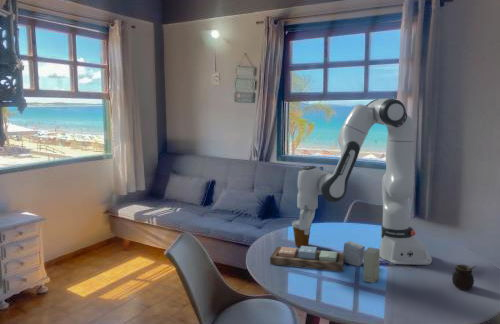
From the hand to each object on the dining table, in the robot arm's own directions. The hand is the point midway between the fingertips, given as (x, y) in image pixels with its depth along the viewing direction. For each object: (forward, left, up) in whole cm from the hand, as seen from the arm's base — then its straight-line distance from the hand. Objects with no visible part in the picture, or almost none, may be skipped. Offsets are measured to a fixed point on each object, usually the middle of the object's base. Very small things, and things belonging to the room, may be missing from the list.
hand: (306, 233), depth 169 cm
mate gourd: (-60, +9, -13) cm, 62 cm away
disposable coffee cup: (+6, -19, -13) cm, 24 cm away
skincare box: (-27, +11, -13) cm, 32 cm away
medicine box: (-19, -4, -13) cm, 24 cm away
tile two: (0, 0, -10) cm, 10 cm away
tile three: (+9, 0, -12) cm, 14 cm away
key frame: (0, 0, -13) cm, 13 cm away
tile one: (-9, 0, -12) cm, 15 cm away
